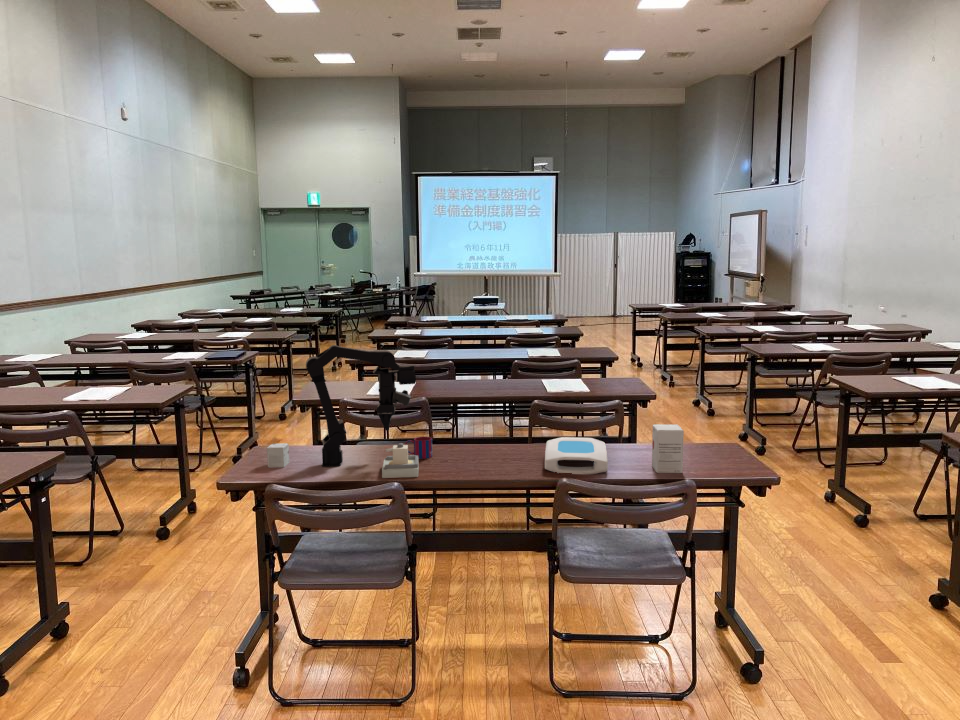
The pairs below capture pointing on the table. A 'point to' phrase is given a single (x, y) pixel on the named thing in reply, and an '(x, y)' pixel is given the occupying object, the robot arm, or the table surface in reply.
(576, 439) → the document scanner
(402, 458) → the spout can
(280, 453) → the skincare box
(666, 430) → the supplement box
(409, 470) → the grey tray
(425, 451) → the mug
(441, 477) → the table surface
